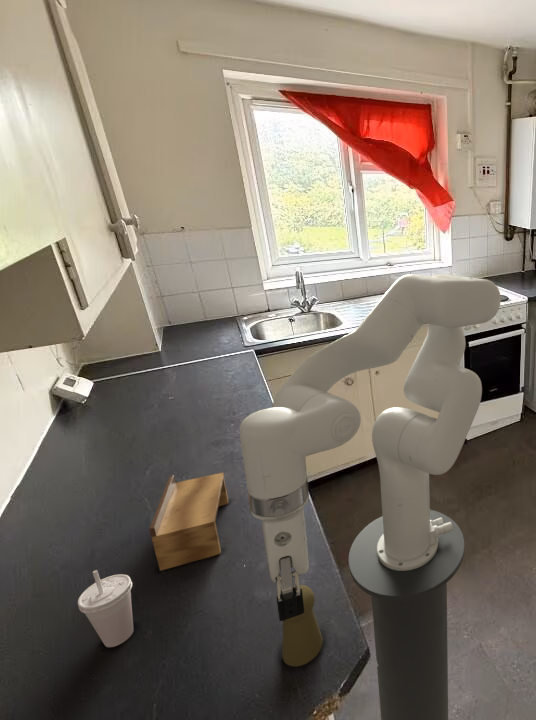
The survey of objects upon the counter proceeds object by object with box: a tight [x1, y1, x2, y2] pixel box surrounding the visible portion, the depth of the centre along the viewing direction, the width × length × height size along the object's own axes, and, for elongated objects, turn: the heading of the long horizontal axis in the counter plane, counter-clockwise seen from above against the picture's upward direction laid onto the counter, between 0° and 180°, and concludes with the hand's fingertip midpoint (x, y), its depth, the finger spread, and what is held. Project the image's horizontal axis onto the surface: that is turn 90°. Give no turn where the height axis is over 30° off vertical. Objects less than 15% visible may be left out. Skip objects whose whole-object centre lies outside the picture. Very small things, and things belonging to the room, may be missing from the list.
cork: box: [277, 584, 324, 667], centre depth 67 cm, size 6×6×11 cm
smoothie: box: [77, 569, 135, 648], centre depth 68 cm, size 6×6×14 cm
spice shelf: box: [149, 472, 229, 572], centre depth 90 cm, size 10×18×10 cm, turn 26°
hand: (291, 589), depth 65 cm, fingers open, 9 cm apart
